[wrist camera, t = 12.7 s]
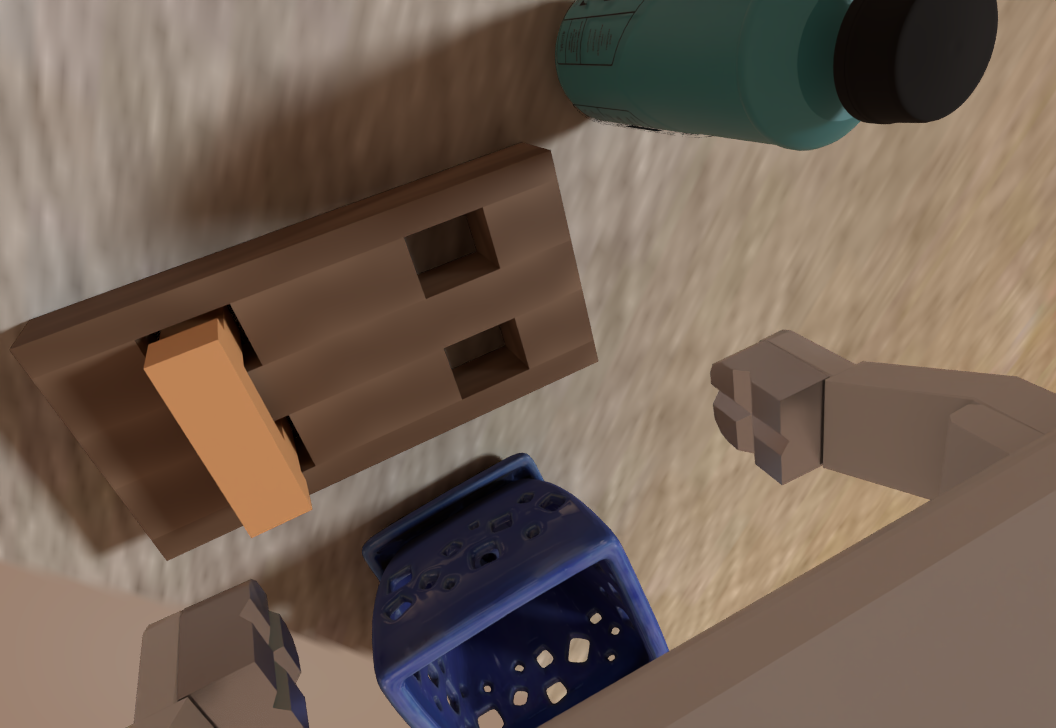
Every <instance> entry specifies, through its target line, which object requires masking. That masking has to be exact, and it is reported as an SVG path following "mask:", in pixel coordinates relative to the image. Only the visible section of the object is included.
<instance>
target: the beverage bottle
mask: <svg viewBox="0 0 1056 728" xmlns="http://www.w3.org/2000/svg"><path fill="white" fill-rule="evenodd" d="M574 2H575V1H574ZM574 2H573V3H574ZM573 3H572V4H573ZM571 6H572V7H571ZM571 6H570V7H571V8H569V10H568V11H567V13H566V15H565V17H564V19H563V21H562V24H561V26H560V29H559V33H558V36H557V41H556V49H555V63H556V70H557V74H558V78H559V81H560V84H561V86H562V88H563V90H564V92H565V94H566V95H567V97H568V98H569V99H570V100H571V102H572V103H573V106H574V105H575V106H576V107H577V108H578V109H579V110H581V111H582V112H583V113H585V114H586V116H587V115H588V117H589V116H590V117H591V119H592V118H593V119H594V118H595V119H596V121H597V119H598V120H600V121H601V120H602V121H604V122H605V121H606V123H607V121H608V122H610V124H611V122H615V124H616V123H618V124H617V125H615V126H619V127H620V125H621V126H622V127H625V128H626V127H632V128H638V130H639V129H645V130H651V131H650V132H652V131H662V130H658V129H663V130H669V131H675V132H678V133H679V132H683V133H682V135H684V133H685V134H687V133H688V134H689V133H690V135H692V134H697V135H698V134H704V135H711V136H718V137H725V138H731V139H738V140H745V141H752V142H759V143H766V144H773V145H777V146H780V147H783V148H786V149H792V150H798V151H804V150H813V149H818V148H821V147H824V146H826V145H829V144H831V143H833V142H836V141H837V140H839V139H840V138H842V137H843V136H845V135H846V134H847V133H848V132H850V131H851V130H852V129H853V128H854V127H855V126H856V125H857V124H858V123H859V122H860V121H862V122H866V123H874V124H892V123H926V122H931V121H935V120H939V119H941V118H944V117H945V116H947V115H949V114H951V113H952V112H953V111H955V110H956V109H957V108H959V107H960V106H961V105H962V104H963V103H964V102H965V101H966V100H967V99H968V97H969V96H970V95H971V94H972V92H973V91H974V89H975V88H976V86H977V85H978V83H979V82H980V80H981V78H982V76H983V75H984V72H985V70H986V68H987V66H988V63H989V61H990V58H991V55H992V52H993V49H994V44H995V40H996V34H997V26H998V9H997V1H996V0H577V1H576V2H575V3H574V4H573V5H571ZM575 106H574V107H575ZM582 115H583V114H582ZM586 116H585V117H586ZM590 117H589V118H590ZM586 118H587V117H586ZM593 119H592V121H593ZM595 119H594V120H595ZM594 122H595V121H594ZM598 122H599V121H598ZM598 122H597V123H598ZM606 123H605V124H606ZM619 123H622V124H625V125H626V124H627V125H628V124H629V126H624V125H622V124H620V125H619ZM600 124H601V123H600ZM612 124H613V123H612ZM606 125H607V124H606ZM630 125H631V126H630ZM633 125H634V126H633ZM612 126H613V125H612ZM638 126H642V127H638ZM645 127H647V128H645ZM632 128H631V129H632ZM652 128H654V129H652ZM655 128H656V129H655ZM645 130H644V131H645ZM657 133H658V132H657ZM664 133H665V132H664ZM664 133H663V134H664ZM667 133H669V132H667ZM673 134H674V133H673ZM670 135H671V134H670ZM711 136H708V137H711ZM695 138H700V137H695Z"/></svg>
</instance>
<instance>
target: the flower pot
mask: <svg viewBox="0 0 1056 728" xmlns="http://www.w3.org/2000/svg"><path fill="white" fill-rule="evenodd" d="M362 555H363V557H364V559H365V561H366V562H367V564H368V565H369V567H370V568H371V570H372V571H373V573H374V574H375V576H376V577H377V578H378V580H379V581H380V584H379V587H378V590H377V594H376V598H375V604H374V610H373V620H372V647H373V662H374V670H375V674H376V679H377V682H378V684H379V686H380V689H381V690H382V692H383V693H384V695H385V696H386V698H387V699H388V700H389V702H390V703H391V704H392V706H393V707H394V708H395V709H396V711H397V712H398V713H399V715H400V716H401V717H402V718H403V719H404V720H405V722H407V724H408V725H409V726H410V727H411V728H479V724H478V717H480V716H481V715H483V714H484V713H486V712H488V711H489V710H492V709H495V710H496V711H498V713H499V714H500V716H501V718H502V720H503V722H504V725H503V727H502V728H537V727H539V726H540V725H542V724H544V723H545V722H547V721H549V720H551V719H552V718H554V717H556V716H558V715H559V714H561V713H563V712H565V711H566V710H568V709H570V708H572V707H573V706H575V705H577V704H578V703H580V702H582V701H584V700H585V699H587V698H589V697H591V696H592V695H594V694H596V693H598V692H599V691H601V690H603V689H604V688H606V687H608V686H610V685H611V684H613V683H615V682H617V681H618V680H620V679H622V678H624V677H625V676H627V675H629V674H630V673H632V672H634V671H636V670H637V669H639V668H641V667H643V666H644V665H646V664H648V663H650V662H651V661H653V660H655V659H656V658H658V657H660V656H662V655H663V654H665V653H667V652H669V649H668V647H667V644H666V642H665V639H664V636H663V634H662V632H661V629H660V627H659V624H658V622H657V620H656V617H655V615H654V613H653V611H652V609H651V607H650V605H649V602H648V600H647V598H646V596H645V594H644V592H643V590H642V587H641V585H640V583H639V581H638V578H637V576H636V574H635V572H634V570H633V568H632V566H631V564H630V561H629V559H628V557H627V555H626V553H625V551H624V549H623V547H622V545H621V543H620V542H619V540H618V538H617V537H616V536H615V534H614V533H613V532H612V531H611V529H610V528H609V527H608V526H607V525H606V524H605V523H604V522H603V521H602V520H601V519H600V518H599V517H598V516H597V515H596V514H595V513H594V512H593V511H592V510H591V509H589V508H588V507H587V506H586V505H585V504H584V503H583V502H581V501H580V500H579V499H578V498H576V497H575V496H574V495H572V494H571V493H569V492H567V491H566V490H564V489H562V488H561V487H559V486H556V485H554V484H552V483H549V482H545V481H544V480H543V478H542V476H541V474H540V472H539V470H538V468H537V466H536V464H535V463H534V461H533V459H532V458H531V457H530V456H529V455H528V454H525V453H518V454H515V455H512V456H510V457H508V458H506V459H504V460H502V461H500V462H498V463H497V464H495V465H493V466H491V467H490V468H488V469H486V470H484V471H483V472H481V473H479V474H477V475H475V476H474V477H472V478H470V479H468V480H467V481H465V482H463V483H461V484H459V485H458V486H456V487H454V488H452V489H451V490H449V491H447V492H445V493H444V494H442V495H440V496H439V497H437V498H435V499H434V500H432V501H430V502H428V503H427V504H425V505H423V506H422V507H420V508H418V509H416V510H415V511H413V512H411V513H410V514H408V515H406V516H405V517H403V518H401V519H400V520H398V521H396V522H395V523H393V524H391V525H390V526H388V527H386V528H385V529H383V530H382V531H380V532H379V533H377V534H376V535H374V536H373V537H371V538H370V539H369V540H368V541H367V542H366V543H365V544H364V546H363V548H362ZM596 613H599V614H600V615H601V617H602V619H601V620H600V621H599V622H598V623H596V624H593V623H592V622H591V621H590V618H591V617H592V616H593V615H594V614H596ZM614 627H616V628H619V630H620V631H619V633H618V634H617V635H614V634H612V633H611V632H612V629H613V628H614ZM573 638H582V639H586V640H589V642H590V646H589V653H588V659H587V660H586V661H585V662H579V663H578V662H570V661H569V660H568V656H569V647H570V641H571V639H573ZM544 650H547V651H548V652H549V653H550V654H551V655H552V656H553V661H552V663H551V664H549V665H548V666H546V667H545V668H542V667H541V666H540V665H539V663H538V662H537V657H538V656H539V655H540V653H541V652H542V651H544ZM611 655H614V656H615V659H614V660H612V661H609V660H608V657H609V656H611ZM517 665H521V666H523V667H524V669H523V671H522V672H520V671H516V670H515V667H516V666H517ZM428 675H429V677H430V678H429V677H428ZM430 679H431V680H430ZM557 682H561V683H562V684H563V685H564V686H565V688H566V690H567V694H566V695H565V696H564V697H563V698H562V699H561V700H560V701H559V702H557V703H556V704H553V703H552V702H551V701H550V699H549V697H548V695H547V692H546V690H547V688H549V687H550V686H552V685H553V684H555V683H557ZM485 686H490V688H491V691H490V692H485V691H484V687H485ZM517 691H525V692H527V693H528V697H527V702H526V703H525V704H524V705H521V706H519V705H514V703H513V700H514V695H515V693H516V692H517ZM447 696H448V698H449V700H450V704H449V703H448V701H447Z"/></svg>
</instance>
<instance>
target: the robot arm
mask: <svg viewBox="0 0 1056 728" xmlns="http://www.w3.org/2000/svg"><path fill="white" fill-rule="evenodd" d="M710 376H711V384H712V385H713V386H714V387H716V388H717V389H718V390H719V392H718V394H717V396H716V398H715V401H714V403H713V409H714V416H715V420H716V423H717V425H718V427H719V429H720V431H721V433H722V434H723V436H724V437H725V438H726V439H727V441H728V442H729V443H730V444H732V445H733V446H734V447H735V448H736V449H737V450H740V451H745V452H750V453H754V457H755V464H756V465H757V466H759V467H760V468H761V469H762V470H764V471H765V472H766V473H767V474H769V475H770V476H771V477H772V478H774V479H775V480H776V481H777V482H779V483H780V484H781V485H784V484H786V483H788V482H790V481H792V480H794V479H796V478H798V477H800V476H802V475H804V474H806V473H808V472H810V471H812V470H814V469H816V468H818V467H820V466H822V465H823V468H826V469H830V470H833V471H836V472H840V473H843V474H846V475H850V476H853V477H856V478H860V479H863V480H866V481H870V482H873V483H876V484H880V485H883V486H886V487H890V488H893V489H896V490H900V491H903V492H906V493H910V494H913V495H916V496H920V497H923V498H926V499H930V501H928V502H927V503H925V504H923V505H921V506H920V507H918V508H916V509H915V510H913V511H911V512H909V513H908V514H906V515H904V516H902V517H901V518H899V519H897V520H895V521H894V522H892V523H890V524H888V525H887V526H885V527H883V528H882V529H880V530H878V531H876V532H875V533H873V534H871V535H869V536H868V537H866V538H864V539H862V540H861V541H859V542H857V543H856V544H854V545H852V546H850V547H849V548H847V549H845V550H843V551H842V552H840V553H838V554H837V555H835V556H833V557H831V558H830V559H828V560H826V561H824V562H823V563H821V564H819V565H817V566H816V567H814V568H812V569H811V570H809V571H807V572H805V573H804V574H802V575H800V576H798V577H797V578H795V579H793V580H792V581H790V582H788V583H786V584H785V585H783V586H781V587H779V588H778V589H776V590H774V591H773V592H771V593H769V594H767V595H766V596H764V597H762V598H760V599H759V600H757V601H755V602H753V603H752V604H750V605H748V606H747V607H745V608H743V609H741V610H740V611H738V612H736V613H734V614H733V615H731V616H729V617H728V618H726V619H724V620H722V621H721V622H719V623H717V624H715V625H714V626H712V627H710V628H708V629H707V630H705V631H703V632H702V633H700V634H698V635H696V636H695V637H693V638H691V639H689V640H688V641H686V642H684V643H682V644H681V645H679V646H677V647H676V648H674V649H672V650H670V651H669V652H667V653H665V654H663V655H662V656H660V657H658V658H656V659H655V660H653V661H651V662H650V663H648V664H646V665H644V666H643V667H641V668H639V669H637V670H636V671H634V672H632V673H630V674H629V675H627V676H625V677H624V678H622V679H620V680H618V681H617V682H615V683H613V684H611V685H610V686H608V687H606V688H604V689H603V690H601V691H599V692H598V693H596V694H594V695H592V696H591V697H589V698H587V699H585V700H584V701H582V702H580V703H578V704H577V705H575V706H573V707H572V708H570V709H568V710H566V711H565V712H563V713H561V714H559V715H558V716H556V717H554V718H552V719H551V720H549V721H547V722H545V723H544V724H542V725H540V726H539V727H537V728H1056V394H1055V393H1053V392H1051V391H1048V390H1046V389H1044V388H1042V387H1039V386H1037V385H1035V384H1033V383H1030V382H1028V381H1026V380H1023V379H1021V378H1019V377H1016V376H1006V375H996V374H986V373H976V372H966V371H956V370H946V369H936V368H926V367H916V366H906V365H896V364H886V363H876V362H866V361H862V362H860V363H858V364H854V363H852V362H850V361H848V360H846V359H844V358H843V357H841V356H839V355H837V354H835V353H833V352H831V351H829V350H827V349H825V348H824V347H822V346H820V345H818V344H816V343H814V342H812V341H810V340H808V339H806V338H804V337H803V336H801V335H799V334H797V333H795V332H793V331H791V330H781V331H779V332H777V333H775V334H773V335H771V336H769V337H766V338H764V339H762V340H760V341H759V342H758V343H756V344H754V345H751V346H749V347H747V348H745V349H743V350H741V351H739V352H737V353H735V354H732V355H730V356H728V357H726V358H724V359H722V360H720V361H718V362H716V363H714V364H713V365H712V368H711V371H710ZM300 673H301V669H300V664H299V657H298V654H297V651H296V647H295V644H294V641H293V638H292V636H291V634H290V632H289V630H288V628H287V626H286V624H285V622H284V621H283V619H282V618H281V616H280V614H278V613H274V612H270V611H268V602H267V595H266V593H265V592H264V591H263V589H262V588H261V587H260V585H259V584H258V582H257V581H255V580H252V579H250V580H248V581H246V582H244V583H241V584H239V585H237V586H234V587H232V588H230V589H228V590H225V591H223V592H221V593H219V594H216V595H214V596H212V597H210V598H207V599H205V600H203V601H201V602H198V603H196V604H194V605H191V606H189V607H187V608H185V609H184V610H182V611H179V612H177V613H175V614H172V615H170V616H168V617H166V618H164V619H161V620H159V621H157V622H155V623H152V624H150V625H149V626H148V627H147V628H146V630H145V632H144V633H143V637H142V647H141V656H140V666H139V676H138V687H137V695H136V705H135V715H134V724H132V725H130V726H128V727H126V728H309V723H308V716H307V709H306V702H305V697H304V696H303V694H302V693H301V691H300V690H299V688H298V687H297V685H296V682H297V680H298V678H299V676H300Z"/></svg>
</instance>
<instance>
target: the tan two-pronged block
mask: <svg viewBox="0 0 1056 728" xmlns="http://www.w3.org/2000/svg"><path fill="white" fill-rule="evenodd" d="M143 369H144V371H145V372H146V374H147V375H148V377H149V378H150V380H151V382H152V383H153V385H154V386H155V388H156V389H157V391H158V392H159V394H160V396H161V397H162V399H163V400H164V402H165V403H166V405H167V407H168V408H169V410H170V411H171V413H172V414H173V416H174V418H175V419H176V421H177V422H178V424H179V425H180V427H181V429H182V430H183V432H184V433H185V435H186V436H187V438H188V439H189V441H190V443H191V444H192V446H193V447H194V449H195V450H196V452H197V454H198V455H199V457H200V458H201V460H202V461H203V463H204V465H205V466H206V468H207V469H208V471H209V472H210V474H211V476H212V477H213V479H214V480H215V482H216V483H217V485H218V487H219V488H220V490H221V491H222V493H223V494H224V496H225V497H226V499H227V501H228V502H229V504H230V505H231V507H232V508H233V510H234V512H235V513H236V515H237V516H238V518H239V519H240V521H241V523H242V524H243V526H244V527H245V529H246V530H247V532H248V534H249V535H250V537H251V538H253V537H255V536H257V535H259V534H261V533H263V532H265V531H268V530H270V529H272V528H274V527H276V526H278V525H280V524H283V523H285V522H287V521H289V520H291V519H293V518H295V517H297V516H300V515H302V514H304V513H306V512H308V511H310V510H312V505H311V500H310V496H309V491H308V487H307V483H306V479H305V477H304V476H303V474H302V472H301V469H300V465H299V460H298V456H297V451H296V447H295V442H294V437H293V433H292V428H291V426H290V424H289V422H288V420H287V418H286V416H285V417H283V418H280V419H278V420H276V421H273V419H272V417H271V415H270V413H269V412H268V410H267V408H266V406H265V404H264V402H263V401H262V399H261V397H260V395H259V393H258V391H257V390H256V388H255V386H254V384H253V382H252V380H251V379H250V377H249V375H248V373H247V371H246V369H245V368H244V364H243V355H242V346H241V337H240V330H239V328H238V326H237V324H236V322H235V321H234V319H233V317H232V315H231V313H230V311H229V309H228V307H227V306H226V305H225V306H222V307H220V308H217V309H214V310H212V311H209V312H207V313H204V314H201V315H199V316H196V317H193V318H191V319H188V320H186V321H183V322H180V323H178V324H175V325H172V326H170V327H167V328H165V329H162V330H161V333H160V338H159V341H157V342H154V343H151V344H149V345H148V349H147V354H146V359H145V364H144V368H143Z"/></svg>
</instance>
